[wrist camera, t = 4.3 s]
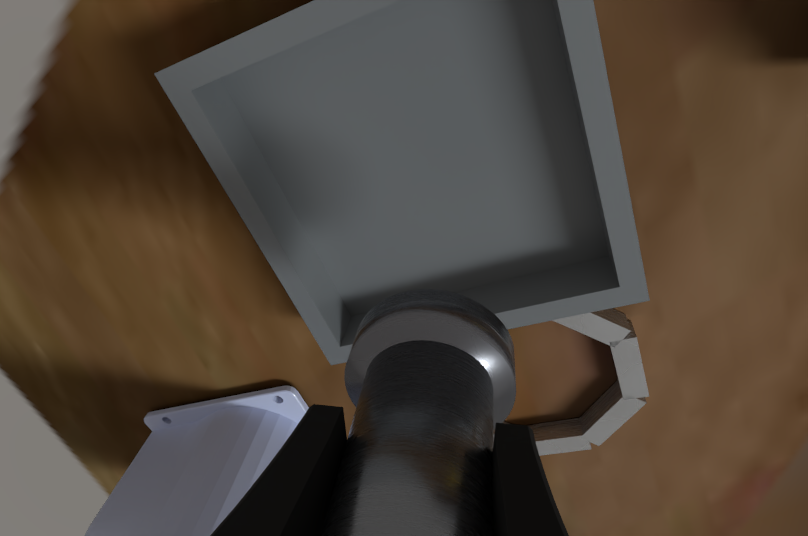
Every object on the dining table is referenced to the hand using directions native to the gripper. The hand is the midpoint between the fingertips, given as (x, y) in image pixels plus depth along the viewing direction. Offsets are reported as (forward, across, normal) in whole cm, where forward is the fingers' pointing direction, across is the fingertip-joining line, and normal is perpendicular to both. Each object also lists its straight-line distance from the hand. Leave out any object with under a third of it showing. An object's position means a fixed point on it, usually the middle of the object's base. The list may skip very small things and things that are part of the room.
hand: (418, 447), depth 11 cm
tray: (+10, +1, -2) cm, 11 cm away
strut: (+3, 0, 0) cm, 3 cm away
